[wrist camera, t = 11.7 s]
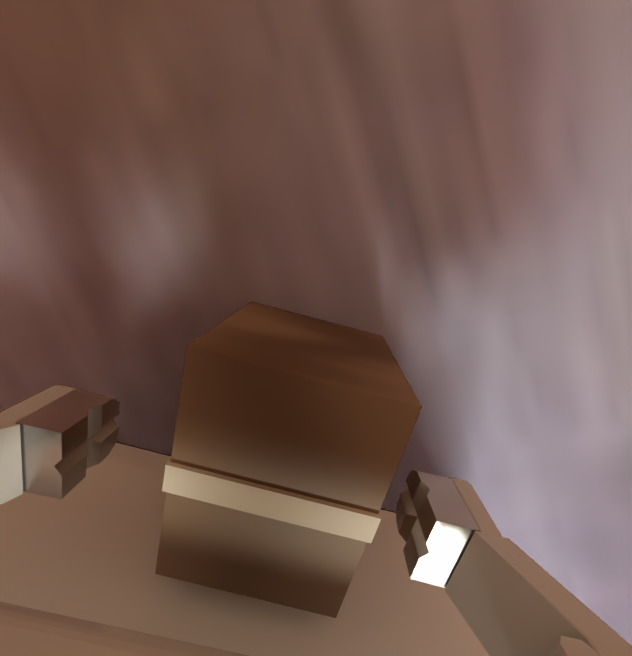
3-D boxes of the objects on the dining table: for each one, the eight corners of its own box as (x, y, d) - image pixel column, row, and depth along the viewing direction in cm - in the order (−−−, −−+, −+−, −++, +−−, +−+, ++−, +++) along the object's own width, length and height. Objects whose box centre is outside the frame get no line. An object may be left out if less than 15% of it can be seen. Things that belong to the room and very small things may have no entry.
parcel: (383, 336, 10) (425, 410, 5) (335, 477, 11) (338, 624, 7) (250, 301, 10) (180, 346, 5) (221, 448, 11) (150, 578, 7)
